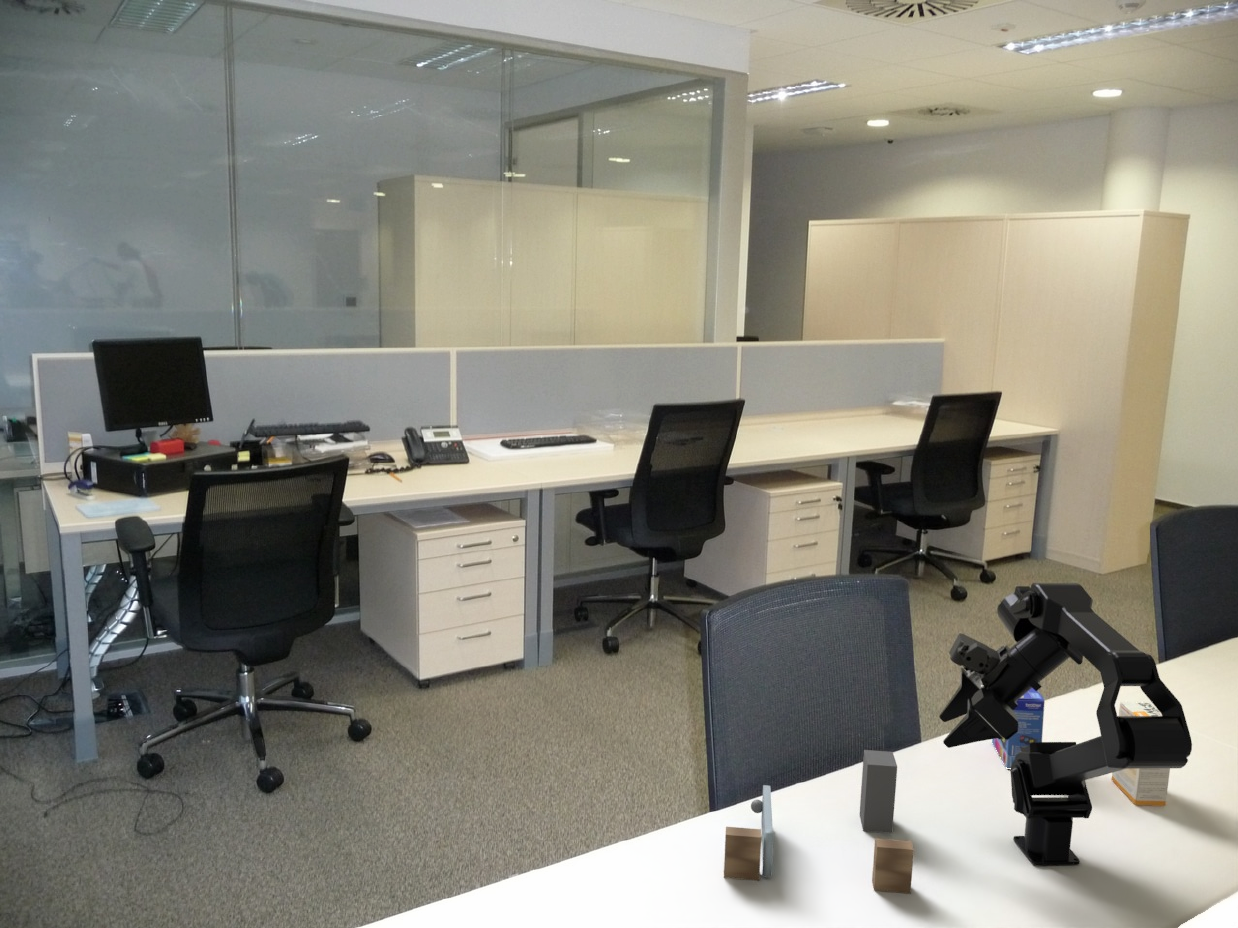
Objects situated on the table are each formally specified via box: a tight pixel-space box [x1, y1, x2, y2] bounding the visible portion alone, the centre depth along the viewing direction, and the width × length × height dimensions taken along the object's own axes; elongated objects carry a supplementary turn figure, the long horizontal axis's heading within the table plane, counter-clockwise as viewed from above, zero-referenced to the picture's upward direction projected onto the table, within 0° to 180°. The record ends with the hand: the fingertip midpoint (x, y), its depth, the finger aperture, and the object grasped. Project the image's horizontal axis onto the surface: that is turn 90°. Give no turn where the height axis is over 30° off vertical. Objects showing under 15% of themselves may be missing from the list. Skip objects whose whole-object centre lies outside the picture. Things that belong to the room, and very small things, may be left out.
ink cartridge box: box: [991, 688, 1045, 768], centre depth 167 cm, size 10×6×14 cm, turn 174°
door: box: [750, 784, 775, 878], centre depth 139 cm, size 14×3×6 cm, turn 173°
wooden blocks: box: [723, 826, 915, 894], centre depth 132 cm, size 23×2×6 cm, turn 83°
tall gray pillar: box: [859, 749, 898, 834], centre depth 146 cm, size 4×4×10 cm
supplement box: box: [1111, 701, 1171, 807], centre depth 156 cm, size 8×5×13 cm, turn 179°
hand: (943, 731), depth 146 cm, fingers open, 9 cm apart
